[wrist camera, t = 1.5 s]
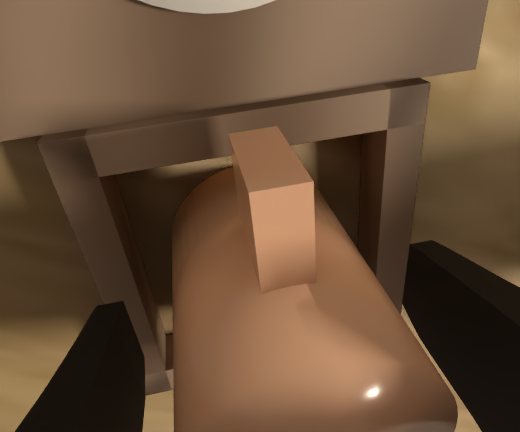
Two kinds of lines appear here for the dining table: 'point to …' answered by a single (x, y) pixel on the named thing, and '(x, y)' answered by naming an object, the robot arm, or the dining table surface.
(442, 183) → the dining table surface
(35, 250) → the dining table surface
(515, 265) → the dining table surface
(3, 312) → the dining table surface
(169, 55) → the caddy
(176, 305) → the peach tabbed cylinder
